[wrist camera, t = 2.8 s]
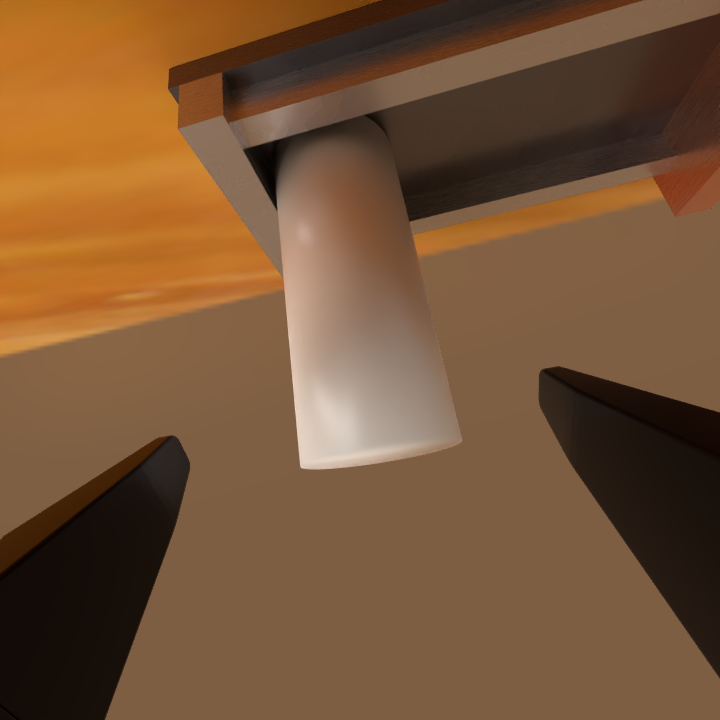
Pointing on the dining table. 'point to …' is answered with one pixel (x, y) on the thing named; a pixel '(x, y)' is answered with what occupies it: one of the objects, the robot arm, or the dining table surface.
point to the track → (473, 103)
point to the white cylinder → (356, 304)
